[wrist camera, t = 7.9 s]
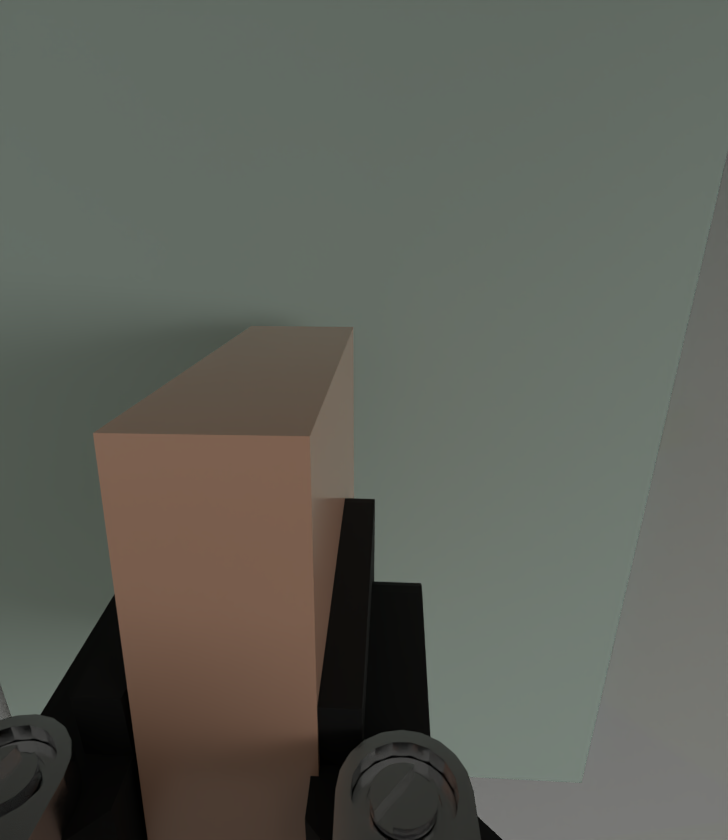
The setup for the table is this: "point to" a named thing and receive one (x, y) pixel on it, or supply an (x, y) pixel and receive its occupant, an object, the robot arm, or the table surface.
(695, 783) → the table surface
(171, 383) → the tile
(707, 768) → the table surface
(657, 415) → the mat
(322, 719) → the robot arm
